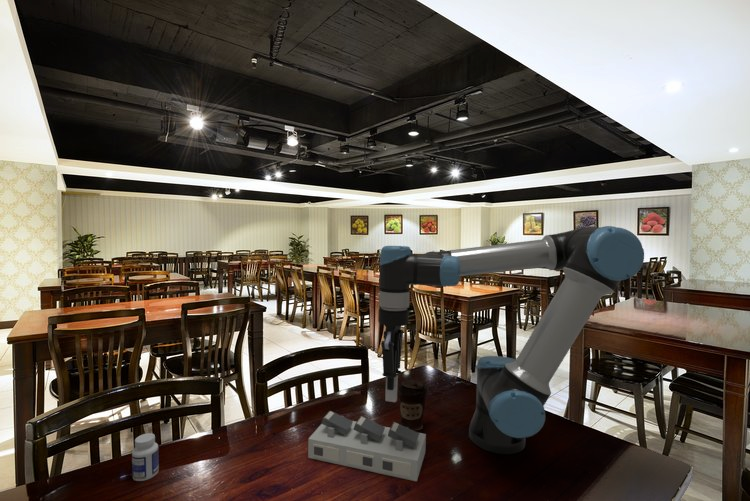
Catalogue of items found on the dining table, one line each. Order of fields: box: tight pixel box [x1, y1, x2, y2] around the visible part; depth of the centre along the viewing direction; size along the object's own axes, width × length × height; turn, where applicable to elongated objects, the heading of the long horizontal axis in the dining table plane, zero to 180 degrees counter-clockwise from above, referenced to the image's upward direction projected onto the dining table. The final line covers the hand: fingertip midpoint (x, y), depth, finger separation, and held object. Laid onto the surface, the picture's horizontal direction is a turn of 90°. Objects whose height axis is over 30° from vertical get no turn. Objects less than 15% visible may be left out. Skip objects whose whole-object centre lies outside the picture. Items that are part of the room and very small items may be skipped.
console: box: [307, 415, 427, 482], centre depth 95 cm, size 28×12×7 cm, turn 73°
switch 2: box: [353, 415, 386, 442], centre depth 95 cm, size 7×5×3 cm
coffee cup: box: [398, 379, 428, 431], centre depth 110 cm, size 9×8×13 cm
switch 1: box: [320, 410, 354, 435], centre depth 98 cm, size 7×5×3 cm
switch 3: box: [388, 421, 420, 448], centre depth 93 cm, size 7×5×3 cm
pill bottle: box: [131, 432, 160, 482], centre depth 87 cm, size 5×5×9 cm
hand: (391, 400), depth 93 cm, fingers closed
